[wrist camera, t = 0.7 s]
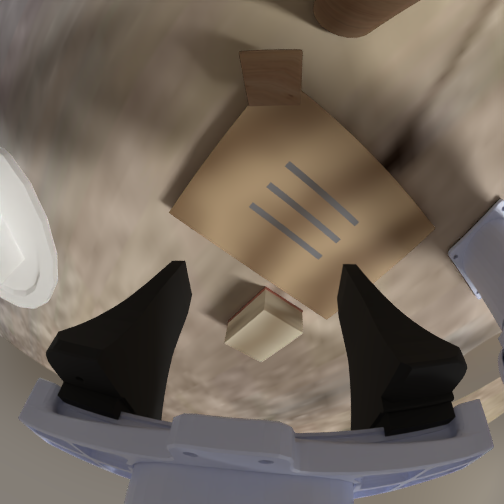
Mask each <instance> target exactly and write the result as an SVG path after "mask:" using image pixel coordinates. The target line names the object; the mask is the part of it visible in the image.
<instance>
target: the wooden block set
mask: <svg viewBox="0 0 504 504" xmlns="http://www.w3.org/2000/svg"><path fill="white" fill-rule="evenodd" d="M418 1H420V0H315V1H314V6H313V12H314V15H315V18H316V20H317V21H318V22H319V24H320V25H321V26H322V27H324V28H325V29H326V30H328V31H329V32H331V33H334V34H336V35H338V36H343V37H347V38H357V37H361V36H365V35H367V34H368V33H370V32H371V31H373V30H374V29H376V28H377V27H379V26H380V25H382V24H383V23H385V22H386V21H388V20H389V19H391V18H392V17H394V16H395V15H397V14H399V13H400V12H402V11H403V10H405V9H407V8H408V7H410V6H412V5H413V4H415V3H417V2H418ZM302 56H303V52H302V50H298V49H278V50H251V51H240V52H239V57H240V62H241V67H242V73H243V78H244V83H245V89H246V94H247V100H248V105H249V106H284V105H296V106H299V105H300V103H301V82H302Z"/></svg>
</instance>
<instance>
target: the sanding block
mask: <svg viewBox="0 0 504 504" xmlns="http://www.w3.org/2000/svg"><path fill="white" fill-rule="evenodd" d="M302 312H303V310H301V309H300V308H298V307H297V306H295V305H293V304H292V303H290V302H289V301H287V300H286V299H284V298H283V297H281V296H279V295H278V294H276V293H275V292H273V291H272V290H270V289H269V288H267V287H265V288H264V289H263V290H261V291H260V292H259V293H258V294H257V295H256V296H255V297H254V298H253V299H252V300H251V301H249V302H248V303H247V304H246V305H245V306H244V307H243V308H242V309H241V310H240V311H238V312H237V313H236V314H235V315H234V316H233V317H232V318H231V319H230V320H228V326H227V332H226V337H225V342H224V343H225V344H227V345H229V346H231V347H233V348H234V349H236V350H238V351H240V352H242V353H244V354H246V355H248V356H250V357H252V358H254V359H256V360H258V361H260V362H262V361H264V360H265V359H267V358H268V357H270V356H271V355H273V354H274V353H276V352H277V351H279V350H280V349H282V348H283V347H284V346H286V345H287V344H289V343H290V342H292V341H293V340H294V339H296V338H297V337H299V336H300V335H301V334H303V321H302Z"/></svg>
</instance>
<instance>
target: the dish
mask: <svg viewBox="0 0 504 504" xmlns="http://www.w3.org/2000/svg"><path fill="white" fill-rule="evenodd" d="M57 282H58V267H57V251H56V248H55V244H54V241H53V237H52V233H51V230H50V226H49V222H48V218H47V216H46V214H45V212H44V210H43V208H42V206H41V204H40V202H39V200H38V197H37V195H36V193H35V191H34V189H33V186H32V184H31V182H30V180H29V179H28V178H27V176H26V175H25V174H24V172H23V171H22V170H21V168H20V167H19V165H18V164H17V163H16V161H15V160H14V158H13V157H12V155H11V154H10V153H9V152H8V151H6V150H5V149H4V148H2V147H1V146H0V297H1V298H3V299H5V300H7V301H8V302H10V303H12V304H14V305H16V306H18V307H24V308H31V309H35V308H37V307H39V306H41V305H43V304H45V303H47V302H48V301H49V299H50V298H51V296H52V294H53V291H54V289H55V287H56V284H57Z"/></svg>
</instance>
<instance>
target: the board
mask: <svg viewBox="0 0 504 504" xmlns="http://www.w3.org/2000/svg"><path fill="white" fill-rule="evenodd" d="M169 213H170V214H171V215H173V216H174V217H176V218H177V219H179V220H180V221H182V222H183V223H184V224H186V225H187V226H189V227H190V228H192V229H193V230H195V231H196V232H197V233H199V234H200V235H202V236H203V237H205V238H206V239H208V240H209V241H211V242H212V243H213V244H215V245H216V246H218V247H219V248H221V249H222V250H224V251H225V252H227V253H228V254H230V255H231V256H233V257H234V258H235V259H237V260H238V261H240V262H241V263H243V264H244V265H246V266H247V267H249V268H250V269H252V270H253V271H255V272H256V273H258V274H259V275H261V276H262V277H264V278H265V279H267V280H268V281H269V282H271V283H272V284H274V285H275V286H277V287H278V288H280V289H281V290H283V291H284V292H286V293H287V294H289V295H290V296H292V297H293V298H295V299H296V300H298V301H299V302H301V303H302V304H304V305H305V306H307V307H308V308H310V309H311V310H313V311H314V312H316V313H317V314H319V315H320V316H322V317H323V318H325V319H328V318H329V317H331V316H332V315H333V314H335V313H336V312H337V311H338V305H337V295H338V290H339V284H340V279H341V273H342V267H343V264H356V265H357V266H358V267H359V268H360V269H361V271H362V272H363V273H364V274H365V275H366V276H367V278H368V279H369V280H370V281H371V282H372V283H374V282H375V281H377V280H378V279H379V278H380V277H381V276H383V275H384V274H385V273H386V272H387V271H389V270H390V269H391V268H392V267H393V266H394V265H396V264H397V263H398V262H399V261H400V260H401V259H402V258H404V257H405V256H406V255H407V254H408V253H409V252H410V251H412V250H413V249H414V248H415V247H416V246H417V245H418V244H419V243H420V242H421V241H423V240H424V239H425V238H426V237H427V236H428V235H429V234H430V233H431V232H432V231H433V230H434V229H435V227H434V226H433V225H432V223H431V222H430V221H429V219H428V218H427V217H426V216H425V214H424V213H423V212H422V211H421V209H420V208H419V207H418V206H417V204H416V203H415V202H414V201H413V200H412V198H411V197H410V196H409V195H408V194H407V193H406V191H405V190H404V189H403V188H402V187H401V186H400V184H399V183H398V182H397V181H396V180H395V179H394V178H393V177H392V175H391V174H390V173H389V172H388V171H387V170H386V169H385V168H384V167H383V166H382V165H381V164H380V163H379V161H378V160H377V159H376V158H375V157H374V156H373V155H372V154H371V153H370V152H369V151H368V150H367V149H366V148H365V147H364V146H363V145H362V144H361V143H360V142H359V141H358V140H357V139H356V138H355V137H354V136H353V135H352V134H351V133H350V132H348V131H347V130H346V129H345V128H344V127H343V126H342V125H341V124H340V123H339V122H338V121H337V120H335V119H334V118H333V117H332V116H331V115H330V114H329V113H328V112H327V111H325V110H324V109H323V108H322V107H321V106H320V105H318V104H317V103H316V102H315V101H314V100H313V99H311V98H310V97H309V96H308V95H307V94H305V93H304V92H303V91H302V90H301V103H300V105H299V106H296V105H284V106H249V105H248V106H247V107H246V109H245V110H244V111H243V112H242V114H241V115H240V116H239V117H238V119H237V120H236V121H235V122H234V124H233V125H232V126H231V127H230V129H229V130H228V131H227V132H226V134H225V135H224V136H223V138H222V139H221V140H220V142H219V143H218V144H217V146H216V147H215V148H214V149H213V151H212V152H211V154H210V155H209V156H208V158H207V159H206V160H205V162H204V163H203V164H202V166H201V167H200V168H199V170H198V171H197V173H196V174H195V175H194V177H193V178H192V180H191V181H190V183H189V184H188V185H187V187H186V188H185V190H184V191H183V193H182V194H181V195H180V197H179V198H178V200H177V201H176V203H175V204H174V206H173V207H172V209H171V210H170V212H169Z"/></svg>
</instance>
